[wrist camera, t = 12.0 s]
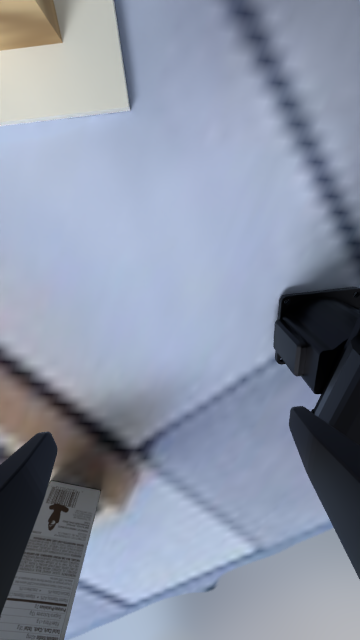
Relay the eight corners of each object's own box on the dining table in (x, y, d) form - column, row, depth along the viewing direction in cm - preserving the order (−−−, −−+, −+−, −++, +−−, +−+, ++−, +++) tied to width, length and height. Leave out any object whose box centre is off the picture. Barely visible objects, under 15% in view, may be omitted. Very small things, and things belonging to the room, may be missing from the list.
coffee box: (85, 529, 33) (16, 784, 18) (36, 520, 32) (-79, 785, 17) (102, 488, 29) (34, 763, 15) (48, 478, 28) (-83, 763, 14)
